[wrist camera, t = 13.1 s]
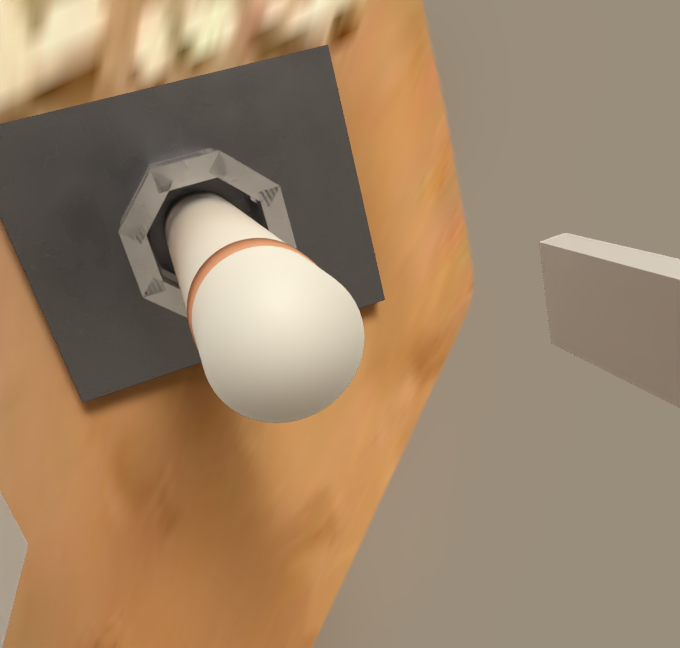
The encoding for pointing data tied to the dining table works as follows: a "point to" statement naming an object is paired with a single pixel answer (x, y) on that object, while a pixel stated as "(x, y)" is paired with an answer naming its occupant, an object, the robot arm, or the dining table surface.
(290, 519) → the dining table surface
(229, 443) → the dining table surface
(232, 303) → the cream ringed tube
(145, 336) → the tube holder base
